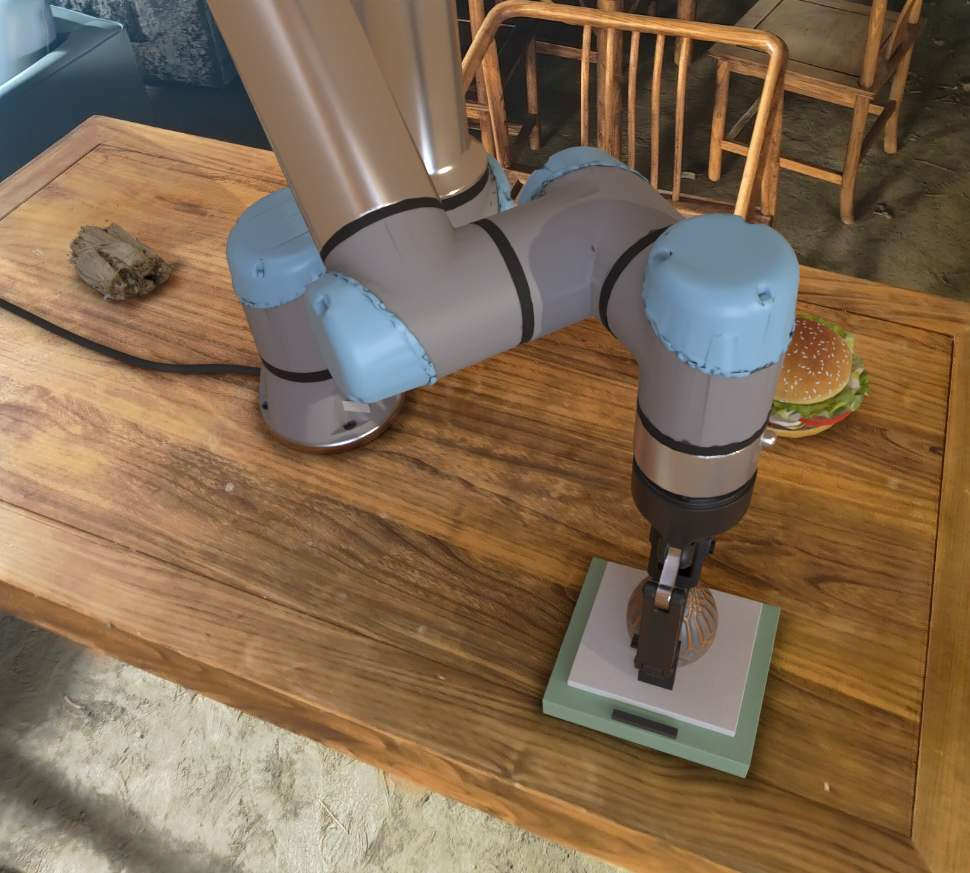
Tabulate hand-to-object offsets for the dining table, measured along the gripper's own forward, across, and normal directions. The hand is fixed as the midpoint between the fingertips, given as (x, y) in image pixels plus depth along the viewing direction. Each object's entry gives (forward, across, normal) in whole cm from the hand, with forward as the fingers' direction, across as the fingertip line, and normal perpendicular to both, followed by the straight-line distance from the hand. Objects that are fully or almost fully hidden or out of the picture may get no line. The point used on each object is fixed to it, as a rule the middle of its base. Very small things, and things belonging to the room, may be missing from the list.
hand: (667, 639), depth 74 cm
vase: (0, 0, 0) cm, 0 cm away
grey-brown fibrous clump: (+4, +29, +75) cm, 81 cm away
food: (+4, +32, -5) cm, 33 cm away
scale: (+4, -1, 0) cm, 4 cm away
